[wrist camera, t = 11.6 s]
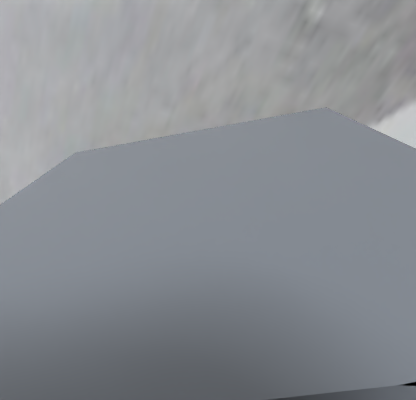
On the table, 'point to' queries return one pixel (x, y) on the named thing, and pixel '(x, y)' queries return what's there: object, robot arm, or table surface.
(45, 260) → the grey matte cube
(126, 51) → the table surface
